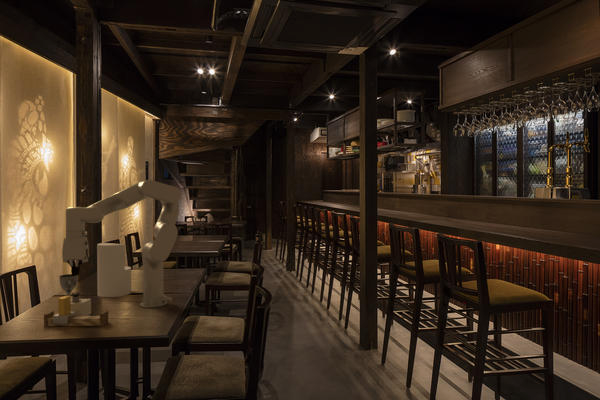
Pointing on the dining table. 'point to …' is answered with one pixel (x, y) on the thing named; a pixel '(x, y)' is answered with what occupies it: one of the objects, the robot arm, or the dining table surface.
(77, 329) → the dining table surface
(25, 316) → the dining table surface
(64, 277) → the wine glass
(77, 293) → the plunger
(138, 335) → the dining table surface
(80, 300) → the housing
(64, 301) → the carriage
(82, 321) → the rail
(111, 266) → the cylinder
